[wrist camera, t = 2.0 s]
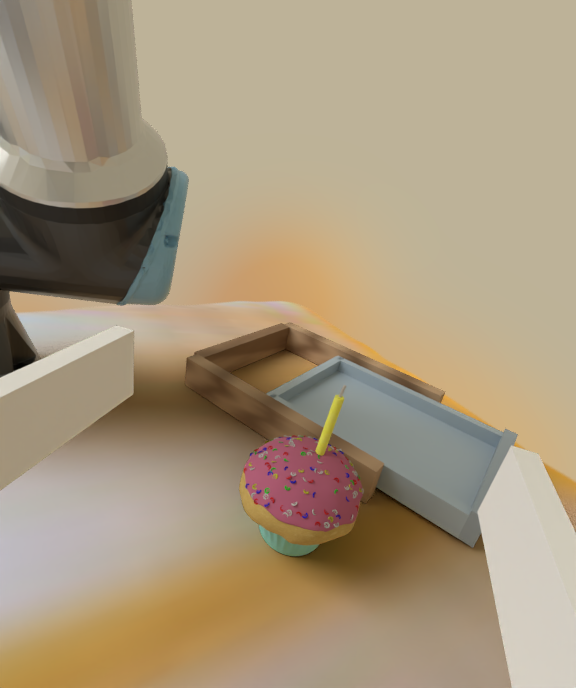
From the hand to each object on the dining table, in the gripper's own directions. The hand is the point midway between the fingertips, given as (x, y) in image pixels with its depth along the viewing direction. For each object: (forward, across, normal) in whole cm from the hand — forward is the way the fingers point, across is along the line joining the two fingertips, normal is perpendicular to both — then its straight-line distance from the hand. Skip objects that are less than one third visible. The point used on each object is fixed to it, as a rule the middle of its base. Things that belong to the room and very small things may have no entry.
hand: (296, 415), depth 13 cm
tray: (+25, +6, -16) cm, 30 cm away
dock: (+28, -3, -16) cm, 33 cm away
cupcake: (+10, 0, -17) cm, 20 cm away
